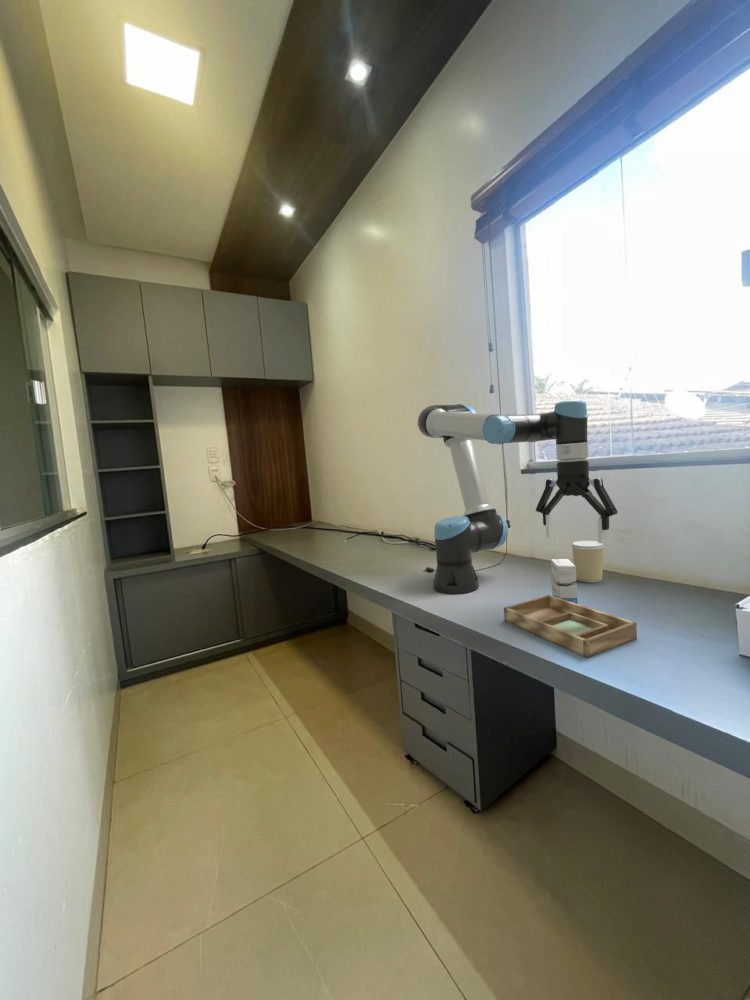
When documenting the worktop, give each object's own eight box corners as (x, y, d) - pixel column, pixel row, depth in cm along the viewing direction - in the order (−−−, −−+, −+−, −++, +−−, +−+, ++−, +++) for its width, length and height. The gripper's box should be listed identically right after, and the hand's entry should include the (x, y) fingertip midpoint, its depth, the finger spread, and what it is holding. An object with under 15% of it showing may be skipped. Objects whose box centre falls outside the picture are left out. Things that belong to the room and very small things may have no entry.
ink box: (578, 608, 108) (576, 565, 107) (559, 608, 109) (557, 566, 108) (569, 597, 116) (568, 557, 115) (551, 597, 117) (549, 558, 116)
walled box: (504, 620, 103) (503, 607, 103) (549, 607, 110) (548, 594, 110) (587, 657, 82) (586, 641, 81) (636, 638, 88) (636, 622, 88)
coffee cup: (601, 574, 134) (599, 540, 133) (608, 583, 125) (607, 546, 124) (570, 574, 137) (569, 540, 136) (575, 583, 128) (574, 546, 127)
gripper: (521, 463, 112) (524, 537, 114) (619, 458, 92) (620, 547, 94) (535, 461, 116) (538, 532, 118) (631, 456, 97) (632, 541, 99)
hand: (574, 539), depth 106 cm, fingers open, 13 cm apart
